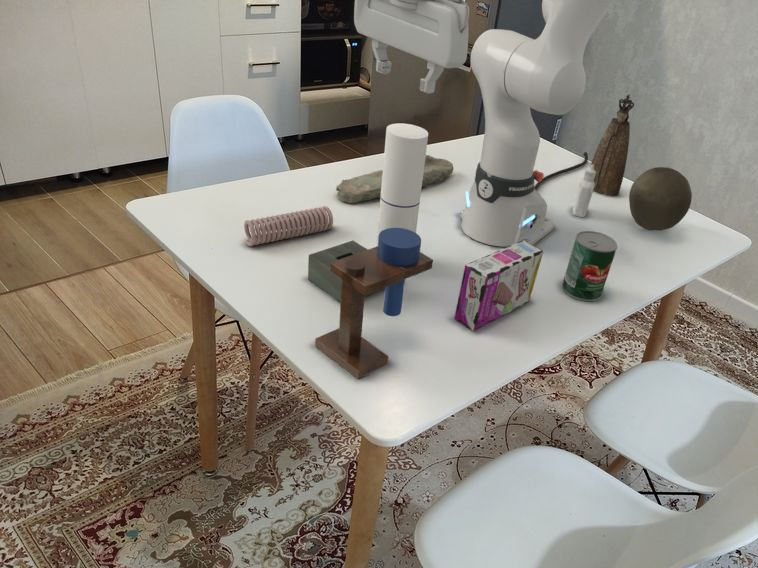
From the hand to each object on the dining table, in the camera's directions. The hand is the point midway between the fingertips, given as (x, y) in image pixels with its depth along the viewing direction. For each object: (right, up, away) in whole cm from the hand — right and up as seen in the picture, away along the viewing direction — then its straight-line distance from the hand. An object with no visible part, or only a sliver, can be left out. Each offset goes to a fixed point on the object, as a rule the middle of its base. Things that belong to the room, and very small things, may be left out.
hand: (404, 82), depth 99 cm
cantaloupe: (+53, -12, +58) cm, 80 cm away
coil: (-25, -18, +28) cm, 42 cm away
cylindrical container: (-5, -23, +28) cm, 36 cm away
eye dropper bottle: (+37, -7, +60) cm, 71 cm away
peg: (-2, -34, +4) cm, 35 cm away
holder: (-12, -28, +18) cm, 36 cm away
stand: (-6, -39, +5) cm, 40 cm away
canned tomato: (+32, -29, +30) cm, 52 cm away
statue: (+45, +2, +74) cm, 87 cm away
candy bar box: (+10, -32, +10) cm, 35 cm away
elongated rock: (-7, -2, +56) cm, 56 cm away
